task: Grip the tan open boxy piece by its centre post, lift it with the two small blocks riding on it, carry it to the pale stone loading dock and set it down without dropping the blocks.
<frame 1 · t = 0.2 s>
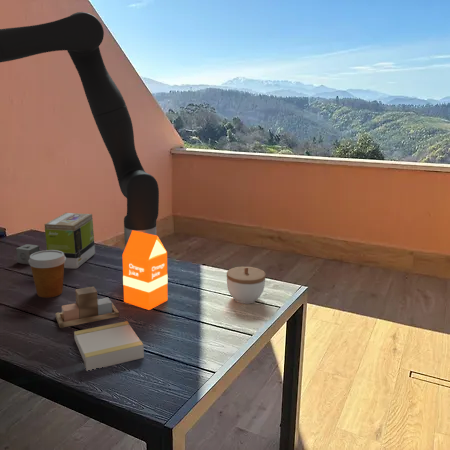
dice cube: (29, 262, 156), on the table
lidded jar: (245, 299, 131), on the table
orange juice: (146, 305, 126), on the table
cargo a: (70, 320, 114), point 1 cm above the table, touching tan open boxy piece
cargo b: (103, 313, 118), point 1 cm above the table
tea box: (72, 261, 157), on the table
dock: (108, 350, 103), on the table
tan open boxy piece: (87, 322, 116), on the table, touching cargo a
disposable coffee cup: (50, 297, 129), on the table
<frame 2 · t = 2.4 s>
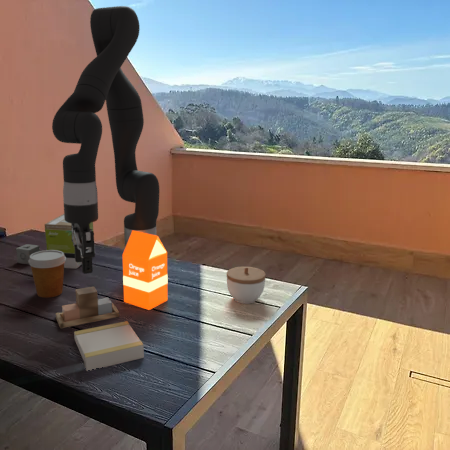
hand: (83, 267, 112), 14 cm above the table, tool pointing down, fingers open, 8 cm apart
cargo b: (103, 313, 117), point 1 cm above the table, touching tan open boxy piece
tan open boxy piece: (88, 322, 116), on the table, touching cargo a, cargo b
everything else where it was.
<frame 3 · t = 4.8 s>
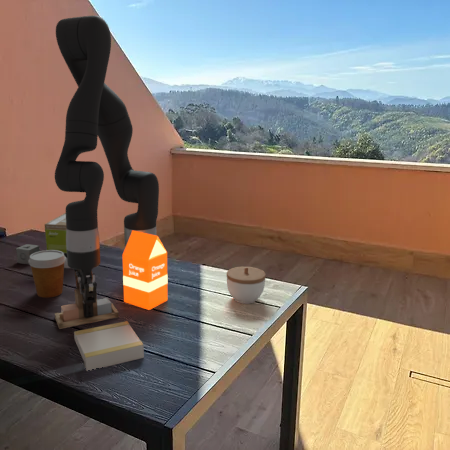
hand: (86, 313, 115), 2 cm above the table, tool pointing down, fingers closed on tan open boxy piece, 3 cm apart
tan open boxy piece: (87, 322, 116), on the table, touching cargo a, cargo b, gripper
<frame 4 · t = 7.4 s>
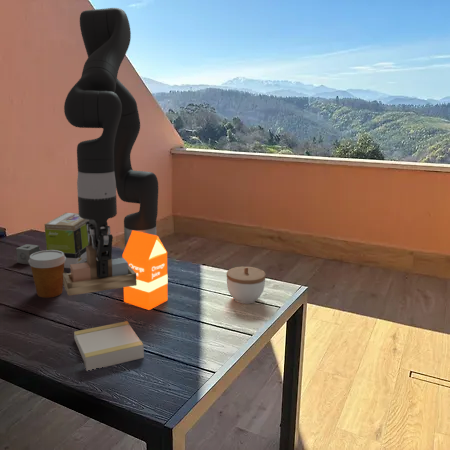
hand: (100, 273, 99), 18 cm above the table, tool pointing down, fingers closed on tan open boxy piece, 3 cm apart
cargo a: (80, 281, 98), point 16 cm above the table, touching tan open boxy piece
cargo b: (118, 276, 101), point 16 cm above the table, touching tan open boxy piece
tan open boxy piece: (100, 285, 100), point 15 cm above the table, touching cargo a, cargo b, gripper
everything else where it was.
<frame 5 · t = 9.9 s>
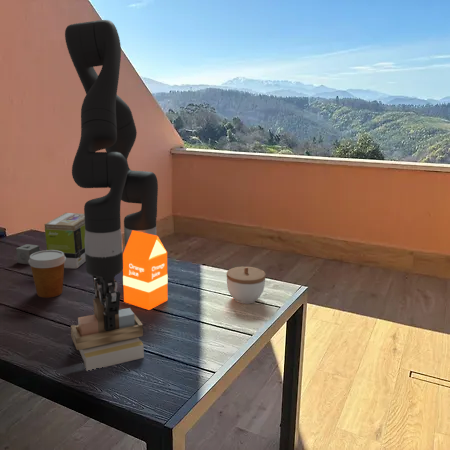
hand: (107, 325, 101), 6 cm above the table, tool pointing down, fingers closed on tan open boxy piece, 3 cm apart
cargo a: (88, 333, 100), point 5 cm above the table, touching tan open boxy piece
cargo b: (124, 326, 103), point 5 cm above the table, touching tan open boxy piece
tan open boxy piece: (107, 336, 102), point 3 cm above the table, touching cargo a, cargo b, gripper
everything else where it was.
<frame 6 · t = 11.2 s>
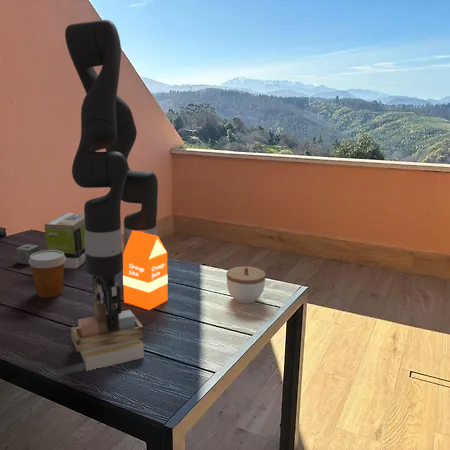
hand: (107, 321, 101), 7 cm above the table, tool pointing down, fingers open, 8 cm apart
tan open boxy piece: (107, 338, 102), point 3 cm above the table, touching cargo a, cargo b, dock
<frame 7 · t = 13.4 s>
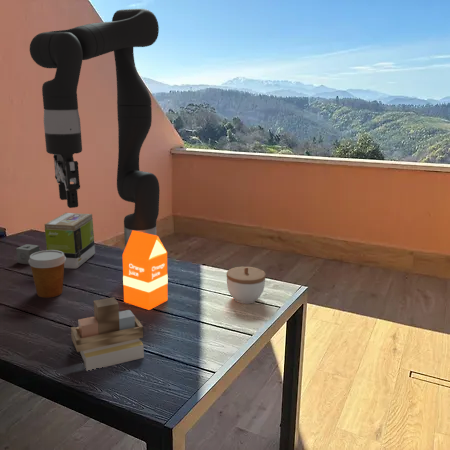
hand: (68, 203, 107), 30 cm above the table, tool pointing down, fingers open, 8 cm apart
nothing on the table moved.
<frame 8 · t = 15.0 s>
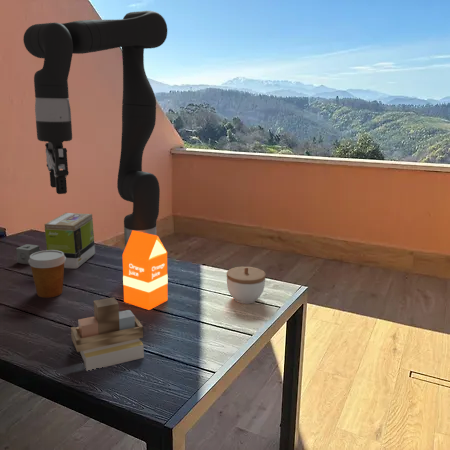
hand: (58, 190, 110), 32 cm above the table, tool pointing down, fingers open, 8 cm apart
nothing on the table moved.
at the end: tan open boxy piece inside the target area on the dock (0.1 cm from its centre), point 3.0 cm above the dock's base; cargo a inside the target area on the tan open boxy piece (3.9 cm from its centre), point 1.5 cm above the tan open boxy piece's base; cargo b inside the target area on the tan open boxy piece (3.9 cm from its centre), point 1.5 cm above the tan open boxy piece's base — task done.
